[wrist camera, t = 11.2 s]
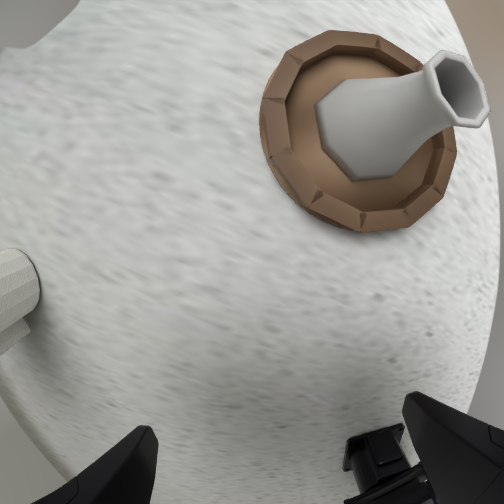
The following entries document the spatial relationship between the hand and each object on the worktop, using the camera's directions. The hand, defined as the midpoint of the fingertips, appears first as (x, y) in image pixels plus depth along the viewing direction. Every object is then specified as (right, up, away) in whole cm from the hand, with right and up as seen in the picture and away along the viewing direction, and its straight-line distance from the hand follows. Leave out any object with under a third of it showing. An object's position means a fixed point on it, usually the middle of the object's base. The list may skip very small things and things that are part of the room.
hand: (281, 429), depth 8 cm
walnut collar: (+7, +14, +9) cm, 18 cm away
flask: (+7, +14, +9) cm, 18 cm away
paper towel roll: (-22, +3, +12) cm, 25 cm away
